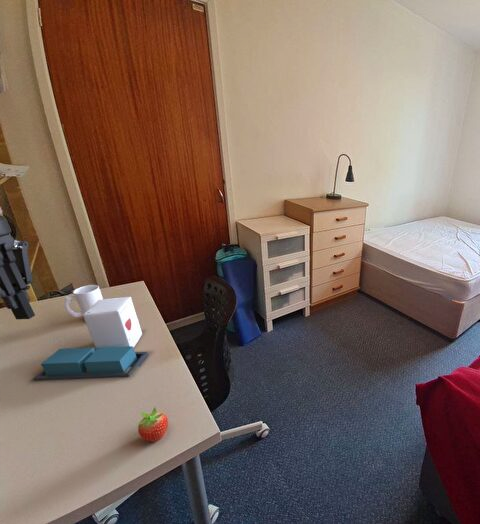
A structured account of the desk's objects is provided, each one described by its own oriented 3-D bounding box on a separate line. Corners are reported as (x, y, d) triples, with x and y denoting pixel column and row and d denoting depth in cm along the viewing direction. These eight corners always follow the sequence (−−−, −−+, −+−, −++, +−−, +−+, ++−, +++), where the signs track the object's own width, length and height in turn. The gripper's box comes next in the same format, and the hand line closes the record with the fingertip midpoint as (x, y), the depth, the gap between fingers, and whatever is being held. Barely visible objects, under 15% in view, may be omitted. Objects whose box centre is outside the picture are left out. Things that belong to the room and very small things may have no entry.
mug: (108, 310, 107) (97, 282, 102) (110, 318, 102) (99, 289, 98) (72, 321, 100) (59, 291, 96) (73, 329, 96) (59, 299, 91)
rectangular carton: (132, 352, 87) (118, 311, 81) (98, 356, 85) (80, 315, 79) (143, 334, 95) (131, 295, 89) (112, 337, 93) (98, 298, 87)
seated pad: (47, 378, 76) (40, 363, 74) (66, 362, 82) (59, 348, 80) (83, 376, 77) (77, 362, 75) (99, 360, 82) (94, 347, 80)
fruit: (175, 426, 65) (168, 402, 62) (166, 449, 60) (157, 423, 57) (150, 429, 64) (141, 404, 61) (138, 452, 59) (127, 426, 56)
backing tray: (36, 384, 75) (32, 378, 74) (64, 360, 83) (62, 354, 82) (130, 380, 77) (128, 374, 76) (149, 356, 85) (147, 351, 85)
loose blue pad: (89, 376, 77) (83, 362, 75) (104, 360, 83) (99, 347, 81) (124, 374, 78) (119, 360, 76) (137, 359, 83) (132, 346, 82)
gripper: (-42, 226, 50) (15, 334, 59) (28, 210, 62) (66, 302, 71) (-91, 226, 49) (-25, 335, 59) (-10, 210, 61) (34, 302, 70)
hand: (25, 317), depth 65 cm, fingers closed
